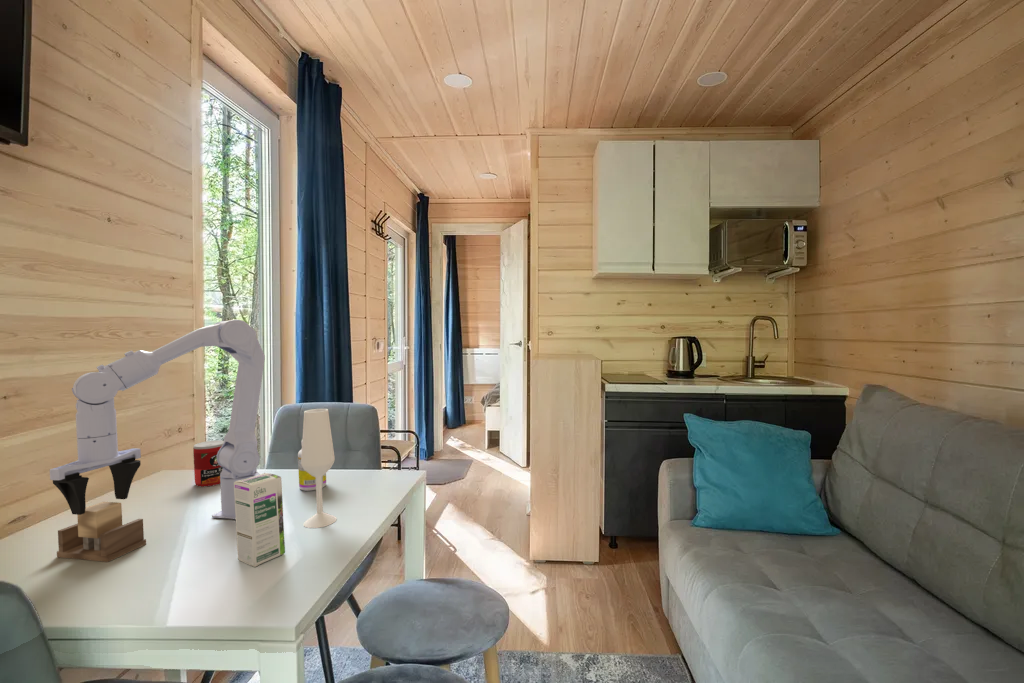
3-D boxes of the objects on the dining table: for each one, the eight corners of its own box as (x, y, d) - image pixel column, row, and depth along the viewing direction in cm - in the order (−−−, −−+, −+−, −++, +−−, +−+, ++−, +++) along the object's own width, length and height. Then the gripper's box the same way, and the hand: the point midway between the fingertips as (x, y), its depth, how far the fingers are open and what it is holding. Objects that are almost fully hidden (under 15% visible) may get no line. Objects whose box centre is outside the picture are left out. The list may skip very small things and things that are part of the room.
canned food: (201, 489, 123) (199, 448, 123) (190, 483, 128) (188, 444, 128) (232, 481, 129) (230, 442, 129) (220, 476, 134) (219, 438, 134)
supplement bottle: (317, 481, 127) (315, 435, 126) (331, 485, 123) (329, 438, 122) (294, 488, 121) (292, 440, 121) (307, 493, 117) (306, 443, 117)
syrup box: (254, 568, 80) (251, 485, 79) (236, 560, 83) (233, 479, 82) (285, 554, 84) (282, 475, 84) (267, 547, 88) (264, 471, 87)
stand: (146, 544, 90) (145, 519, 90) (108, 561, 83) (106, 534, 83) (97, 540, 93) (96, 515, 93) (56, 557, 86) (55, 530, 86)
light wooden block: (122, 528, 90) (121, 502, 90) (97, 538, 85) (96, 511, 85) (104, 526, 91) (103, 501, 90) (78, 536, 86) (77, 510, 86)
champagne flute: (340, 522, 98) (336, 410, 98) (305, 530, 94) (301, 414, 94) (333, 512, 104) (329, 406, 103) (300, 520, 100) (296, 410, 100)
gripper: (120, 426, 95) (123, 491, 96) (34, 444, 81) (39, 520, 82) (147, 427, 94) (151, 493, 94) (65, 444, 80) (69, 522, 80)
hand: (101, 505), depth 88 cm, fingers open, 7 cm apart
